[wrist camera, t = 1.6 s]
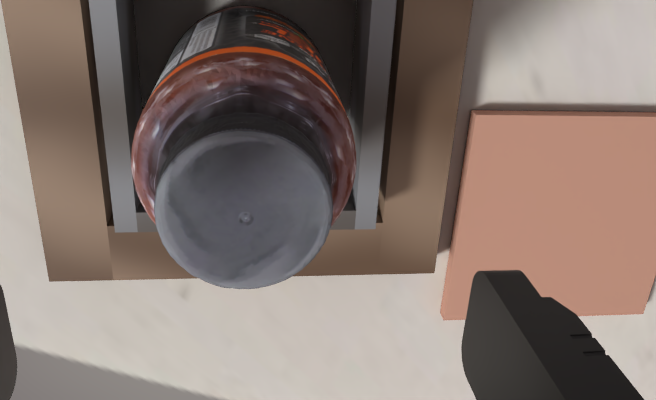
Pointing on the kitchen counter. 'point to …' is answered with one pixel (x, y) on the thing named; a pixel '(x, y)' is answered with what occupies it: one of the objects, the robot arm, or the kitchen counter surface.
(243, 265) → the supplement bottle
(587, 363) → the robot arm
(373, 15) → the wooden square tray
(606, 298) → the mat
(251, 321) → the kitchen counter surface
